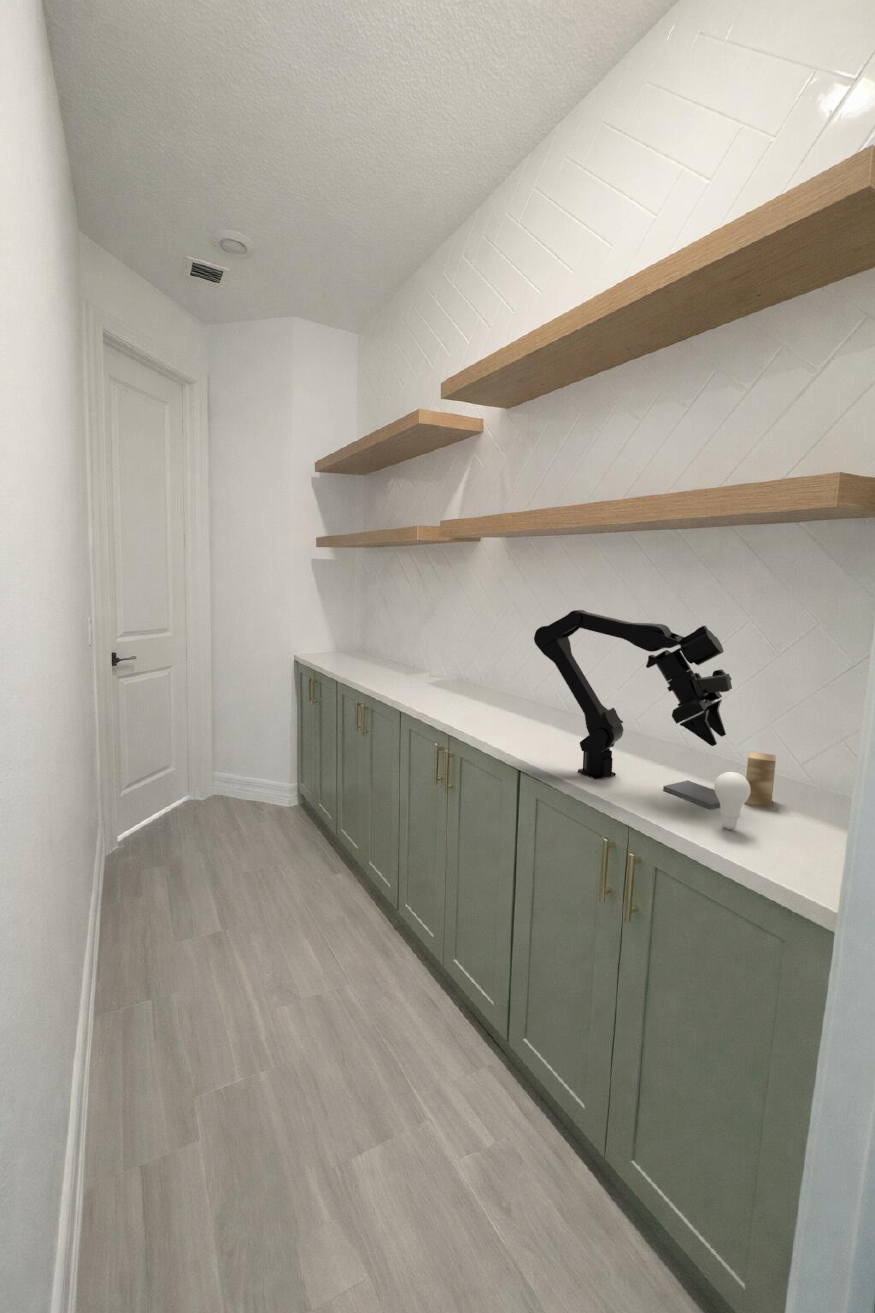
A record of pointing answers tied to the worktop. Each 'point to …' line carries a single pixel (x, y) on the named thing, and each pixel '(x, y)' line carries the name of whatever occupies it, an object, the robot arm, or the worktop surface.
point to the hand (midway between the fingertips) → (719, 740)
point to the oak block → (760, 778)
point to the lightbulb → (731, 796)
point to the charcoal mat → (694, 793)
